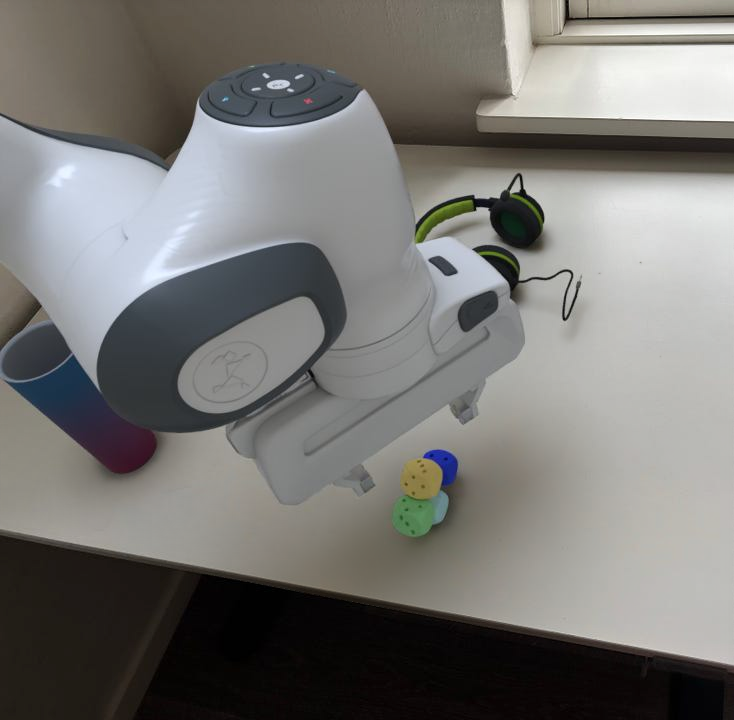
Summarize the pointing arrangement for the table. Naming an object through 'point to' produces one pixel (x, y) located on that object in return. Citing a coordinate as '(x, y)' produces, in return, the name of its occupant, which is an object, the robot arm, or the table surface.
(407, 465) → the dice
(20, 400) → the table surface
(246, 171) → the robot arm
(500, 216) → the headphones
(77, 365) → the cup
